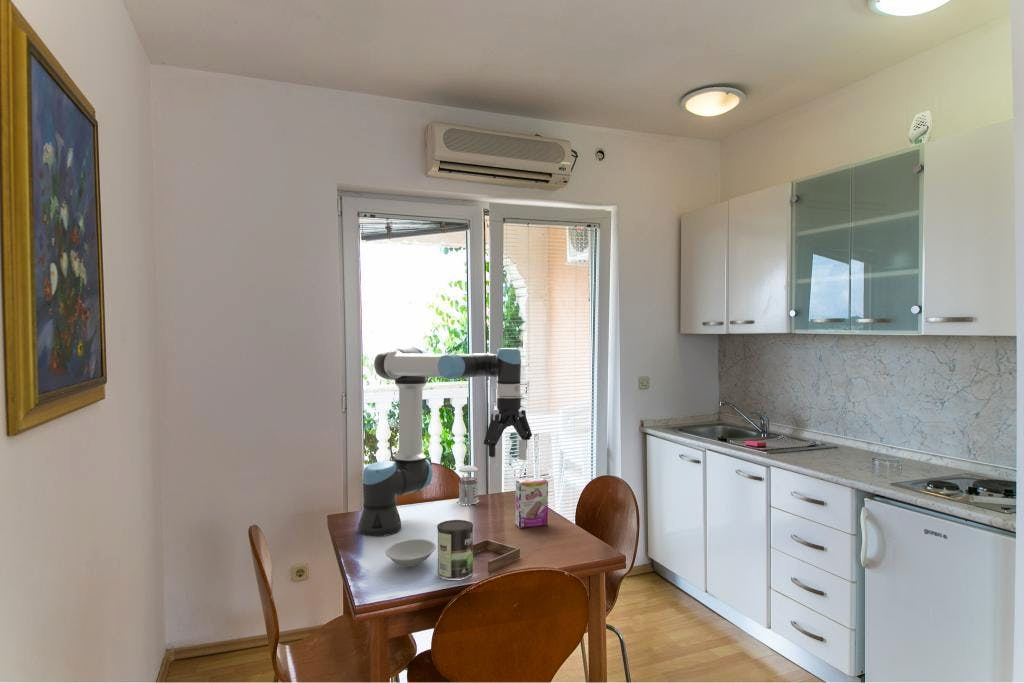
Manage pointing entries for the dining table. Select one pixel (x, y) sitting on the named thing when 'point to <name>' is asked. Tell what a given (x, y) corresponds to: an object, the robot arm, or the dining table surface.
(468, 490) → the french press
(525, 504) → the candy bar box
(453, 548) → the coffee can
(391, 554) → the dish
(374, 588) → the dining table surface
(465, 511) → the dining table surface
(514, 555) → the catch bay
